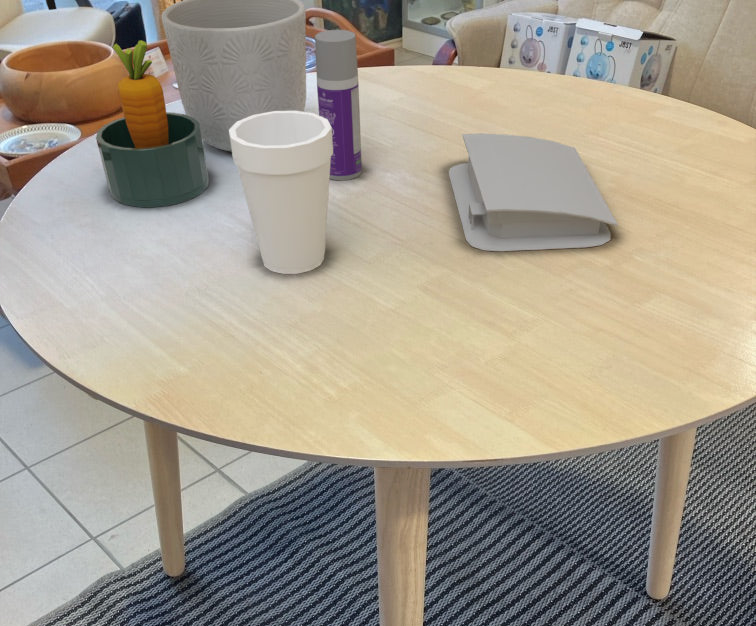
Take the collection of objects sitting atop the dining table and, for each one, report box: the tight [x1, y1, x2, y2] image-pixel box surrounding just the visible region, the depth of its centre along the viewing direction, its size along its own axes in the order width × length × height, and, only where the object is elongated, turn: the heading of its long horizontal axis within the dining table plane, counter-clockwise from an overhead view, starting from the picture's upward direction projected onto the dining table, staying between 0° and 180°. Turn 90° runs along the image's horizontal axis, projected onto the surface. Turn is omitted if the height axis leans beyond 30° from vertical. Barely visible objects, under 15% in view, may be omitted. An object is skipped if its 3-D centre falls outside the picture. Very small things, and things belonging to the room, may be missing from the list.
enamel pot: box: [95, 111, 210, 208], centre depth 99 cm, size 12×12×6 cm
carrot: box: [112, 40, 168, 148], centre depth 96 cm, size 5×5×15 cm
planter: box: [161, 0, 307, 153], centre depth 106 cm, size 17×17×15 cm
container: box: [314, 29, 363, 181], centre depth 98 cm, size 5×5×15 cm
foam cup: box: [229, 111, 333, 275], centre depth 83 cm, size 10×9×13 cm
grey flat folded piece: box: [447, 132, 619, 252], centre depth 95 cm, size 15×23×4 cm, turn 3°
